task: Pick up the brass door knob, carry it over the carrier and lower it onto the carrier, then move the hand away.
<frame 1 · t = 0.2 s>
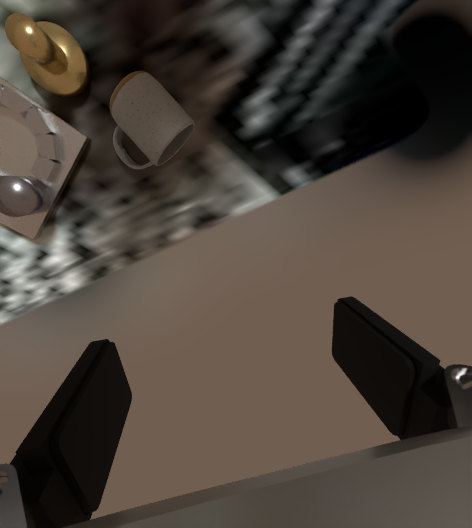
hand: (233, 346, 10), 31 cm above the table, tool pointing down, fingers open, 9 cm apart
brass door knob: (60, 65, 29), on the table
ceramic mug: (153, 136, 34), on the table
carrier: (10, 159, 32), on the table
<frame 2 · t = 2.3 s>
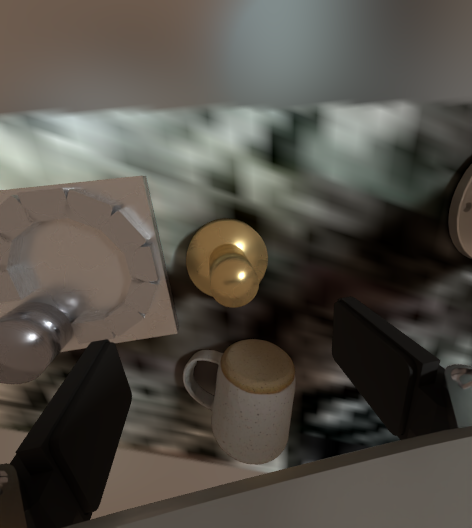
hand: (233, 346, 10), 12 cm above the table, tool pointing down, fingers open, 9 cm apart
brass door knob: (226, 256, 21), on the table
ceramic mug: (234, 365, 26), on the table
carrier: (64, 273, 20), on the table
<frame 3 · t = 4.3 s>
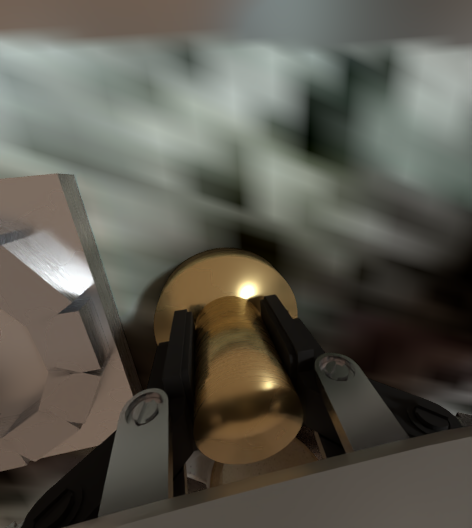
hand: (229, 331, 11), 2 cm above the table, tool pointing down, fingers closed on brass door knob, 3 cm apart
brass door knob: (225, 308, 13), on the table, touching gripper
ceramic mug: (232, 458, 17), on the table
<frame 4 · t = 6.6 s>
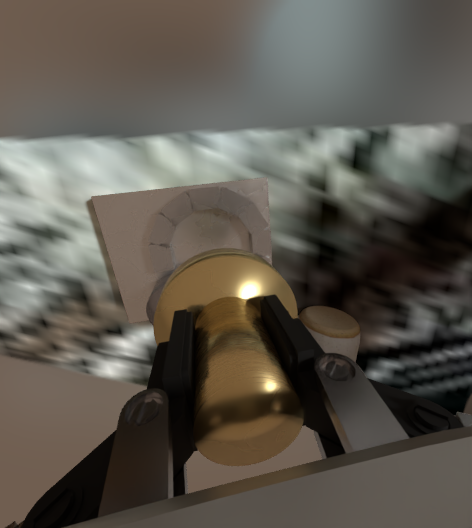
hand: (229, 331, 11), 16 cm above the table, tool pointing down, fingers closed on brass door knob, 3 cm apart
brass door knob: (225, 309, 13), point 14 cm above the table, touching gripper
ceramic mug: (299, 329, 32), on the table
carrier: (194, 251, 26), on the table
when the fingers open (4 cm above the table, at t = 9.3 s): brass door knob stays where it is, resting on carrier.
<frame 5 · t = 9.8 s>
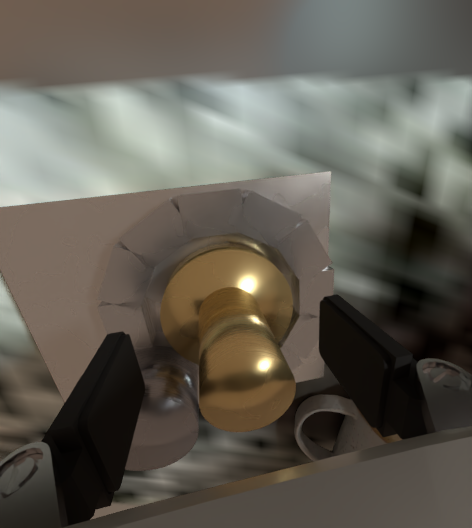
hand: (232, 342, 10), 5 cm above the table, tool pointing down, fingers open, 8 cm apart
brass door knob: (225, 300, 14), point 1 cm above the table, touching carrier
ceramic mug: (346, 408, 21), on the table
carrier: (191, 304, 15), on the table
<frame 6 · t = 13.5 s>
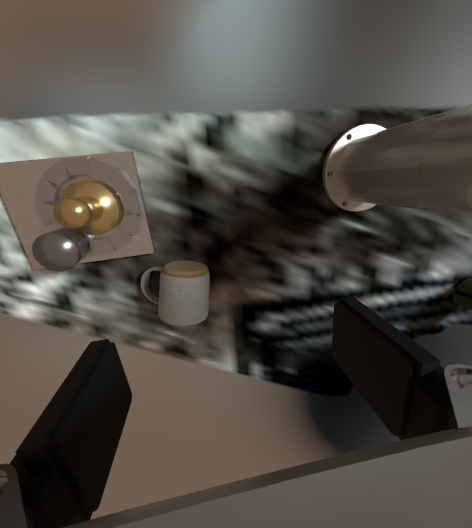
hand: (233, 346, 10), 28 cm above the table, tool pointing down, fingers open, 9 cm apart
brass door knob: (95, 207, 32), point 1 cm above the table, touching carrier
character mug: (462, 290, 49), on the table
ceramic mug: (177, 282, 39), on the table
carrier: (83, 212, 33), on the table
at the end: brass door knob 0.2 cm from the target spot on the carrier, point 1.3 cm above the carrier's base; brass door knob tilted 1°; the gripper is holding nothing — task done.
